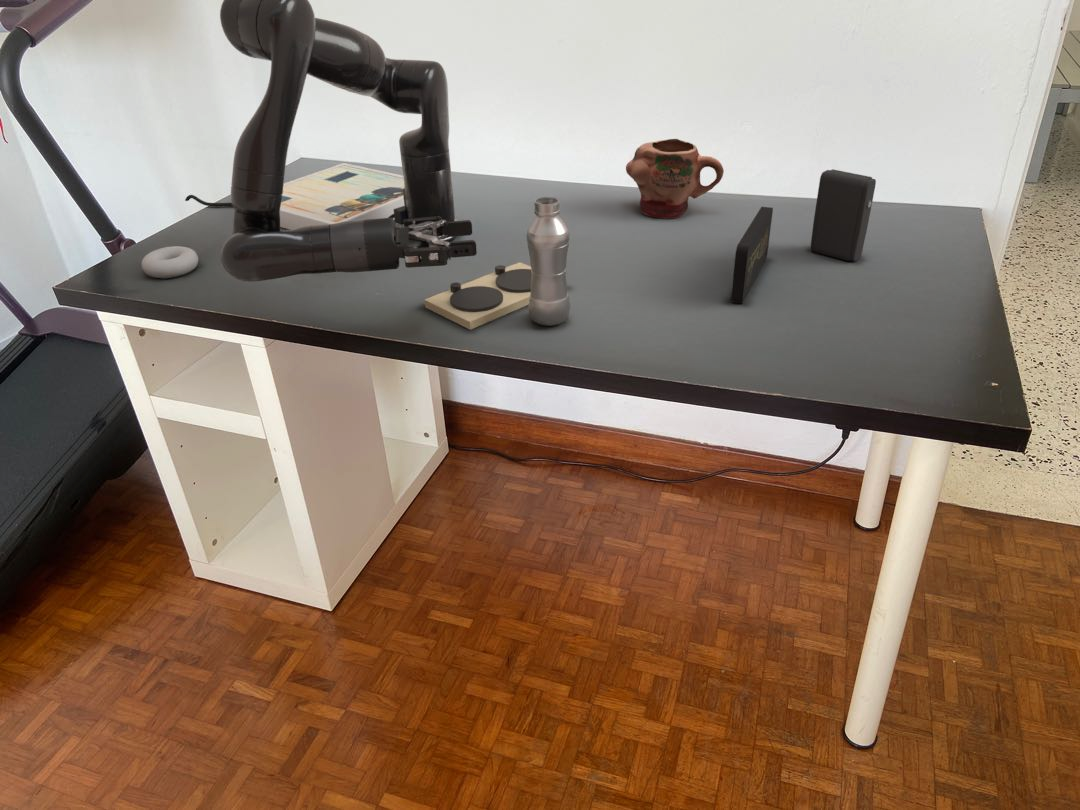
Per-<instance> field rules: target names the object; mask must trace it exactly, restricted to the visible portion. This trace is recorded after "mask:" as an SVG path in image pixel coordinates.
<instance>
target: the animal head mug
mask: <svg viewBox="0 0 1080 810" xmlns="http://www.w3.org/2000/svg"><path fill="white" fill-rule="evenodd" d="M705 168H711V169H713V170H714V172H715V175H716V177H715V179H714V180H713V181H712V182H711V183H709V184H708V185H703V184H701V172H702V170H703V169H705ZM724 170H725V169H724V167H723V165H722V162H721V161H720V160H718V159H717V158H715V157H712V156H707V155H701V154H700V153H699V150H698V148H697V146H696V145H695V144H694V143H691V142H690V141H685V140H681V139H678V138H669V139H661V140H657V141H650V142H645V143H643V144H641V145H640V146H639V147H637V148H636V149H635V151H634V155H633V158H631V160H630V161H628V162H627V163H626V165H625V171H626V172H625V173H626V174H627V175H628V176H629V177H630V178H631V179H632V180H633V181H634V182H635V184H636V186H637V187H638V190H639V192H640V201H639V209H640V212H641V213H643V214H644V215H646V216H649V217H652V218H658V219H677V218H679V217H681V216H683V215H684V214H685V213H686V212H687V211H688V208H689V201H688V200H689V198H692V199H698V197H700V196H702V195H705V194H707V193H708V192H709V191H711V190H712V189H714V188H715V187H716V186H717V185H718V184H719V183H720V182H721V180H722V179H723V176H724V173H725V171H724Z"/></svg>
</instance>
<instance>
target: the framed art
mask: <svg viewBox="0 0 1080 810" xmlns="http://www.w3.org/2000/svg"><path fill="white" fill-rule="evenodd" d="M404 188H405V187H404V179H403V174H398V173H393V172H388V171H384V170H379V169H374V168H370V167H365V166H360V165H357V164H356V165H355V164H350V163H345V162H342V163H340V164H336V165H333V166H330V167H328V168H325V169H322V170H319V171H316V172H312V173H310V174H307V175H304V176H301V177H299V178H296V179H292V180H289V181H286V182H284V186H283V194H282V195H283V196H282V202H281V207H280V228H283V229H285V230H293V229H295V228H298V227H303V226H311V225H324V224H330V225H331V224H335V223H340V222H344V221H353V220H367V219H380V218H388V217H389V216H391V215H392V214H394V209H396V208H399V207H402V206H404V197H403V189H404ZM393 219H394V221H395V218H393Z"/></svg>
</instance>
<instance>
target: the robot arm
mask: <svg viewBox="0 0 1080 810" xmlns="http://www.w3.org/2000/svg"><path fill="white" fill-rule="evenodd" d="M219 20H220V25H221V28H222V31H223V33H224V35H225V37H226V39H227V40H228V42H229V44H231V45H232V47H233V48H234V49H235V50H237V52H239V53H241V54H242V55H245V56H246V57H249V58H253V59H258V60H263V61H269V62H270V75H269V80H268V83H267V88H266V91H265V94H264V96H263V98H262V100H261V101H260V104H259V106H258V108H257V109H256V110H255V112H254V114H253V116H252V117H251V118H250V120H249V121H248V123H247V125H246V126H245V128H244V129H243V131H242V132H241V134H240V136H239V139H238V141H237V144H236V147H235V149H234V150H235V151H234V155H233V161H232V162H233V163H232V171H231V183H230V201H231V202H207V201H204V200H203V199H200V198H199V197H198V196H196V195H194V194H189V195H187V196H186V197H185V199H184V201H185V202H188V201H190V200H191V199H193V200H194V201H196V202H197V203H199V204H201V205H203V206H207V207H233V222H232V223H233V224H232V225H233V226H232V234H231V236H230V237H228V238H227V240H226V241H225V242H224V243H223V246H222V247H221V250H220V251H221V252H220V261H221V264H222V267H223V269H224V270H225V271H226V272H227V273H228V275H230V276H231V277H233V278H234V279H237V280H239V281H244V282H263V281H269V280H276V279H281V278H287V277H292V276H296V275H297V276H298V275H315V274H316V275H317V274H328V273H329V274H330V273H365V272H375V271H377V272H378V271H388V270H397V269H399V268H400V259H404V266H405V268H409V269H411V268H424V267H425V268H426V267H427V268H428V267H441V266H442V267H443V266H446V265H448V261H450V260H452V258H465V257H474V256H476V255H477V241H476V240H474V239H467V240H465V239H464V240H454V239H455V238H457V237H465V236H472V234H473V224H472V221H471V220H470V219H466V220H465V219H463V220H458V217H457V216H456V214H455V213H456V212H455V203H454V192H453V191H454V190H453V189H454V188H453V179H452V177H453V176H452V167H451V157H450V156H451V155H450V145H449V138H450V112H449V111H450V109H449V87H448V85H449V84H448V78H447V74H446V71H445V70H444V67H443V65H442V64H441V63H440V62H438V61H435V60H422V59H420V60H419V59H396V58H395V59H394V58H389V57H386V54H385V52H384V50H383V48H382V47H381V45H380V44H379V43H378V41H376V40H375V39H374V38H372V37H370V35H367V34H366V33H364V32H363V31H360V30H357V29H355V28H354V27H351V26H349V25H347V24H343V23H339V22H335V21H332V20H329V19H328V20H327V19H324V18H318V17H316V16H315V12H314V9H313V7H312V4H311V3H310V1H309V0H222V3H221V5H220V9H219ZM308 75H309V76H311V77H313V78H315V79H317V80H319V81H322V82H324V83H326V84H329V85H331V86H333V87H336V88H338V89H340V90H344V91H346V92H349V93H352V94H356V95H359V96H364V97H369V98H372V99H374V100H375V101H377V102H379V103H380V104H382V105H384V106H385V107H387V108H388V109H391V110H392V111H395V112H397V113H401V114H411V115H412V114H413V115H421V125H420V127H418V128H415V129H412V130H409V131H407V132H405V133H403V134H402V135H401V136H400V137H399V139H398V141H399V142H398V145H399V153H400V154H399V155H400V160H401V170H402V176H403V179H404V187H405V188H404V189H403V197H404V206H402V207H399V208H396V209H394V214H392V215H391V216H389V217H388V218H380V219H367V220H353V221H344V222H340V223H335V224H331V225H330V224H324V225H311V226H303V227H298V228H295V229H293V230H290V229H286V230H281V227H280V207H281V202H282V196H283V195H282V194H283V186H284V183H285V175H286V166H287V158H288V151H289V145H290V141H291V136H292V132H293V128H294V124H295V120H296V117H297V114H298V109H299V105H300V102H301V98H302V96H303V92H304V87H305V83H306V79H307V76H308ZM393 218H395V220H394V219H393ZM396 224H398V225H400V226H403V227H400V228H397V227H396Z"/></svg>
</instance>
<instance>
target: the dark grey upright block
mask: <svg viewBox="0 0 1080 810" xmlns="http://www.w3.org/2000/svg"><path fill="white" fill-rule="evenodd" d="M876 183H877V180H876V178H873V177H872V176H868V175H864V174H858V173H853V172H848V171H844V170H838V169H833V168H832V169H827V170H824V171H822V172H821V175H820V176H819V183H818V189H817V197H816V203H815V210H814V215H813V223H812V232H811V239H810V240H811V241H810V250H811V251H813V252H814V253H817V254H820V255H824V256H827V257H832V258H836V259H839V260H843V261H846V262H856V261H857V260H859V259H860V258H861V256H862V254H863V250H864V244H865V241H866V235H867V231H868V226H869V222H870V221H869V220H870V217H871V212H872V205H873V200H874V196H875V195H874V194H875V191H876V190H875V189H876Z"/></svg>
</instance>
